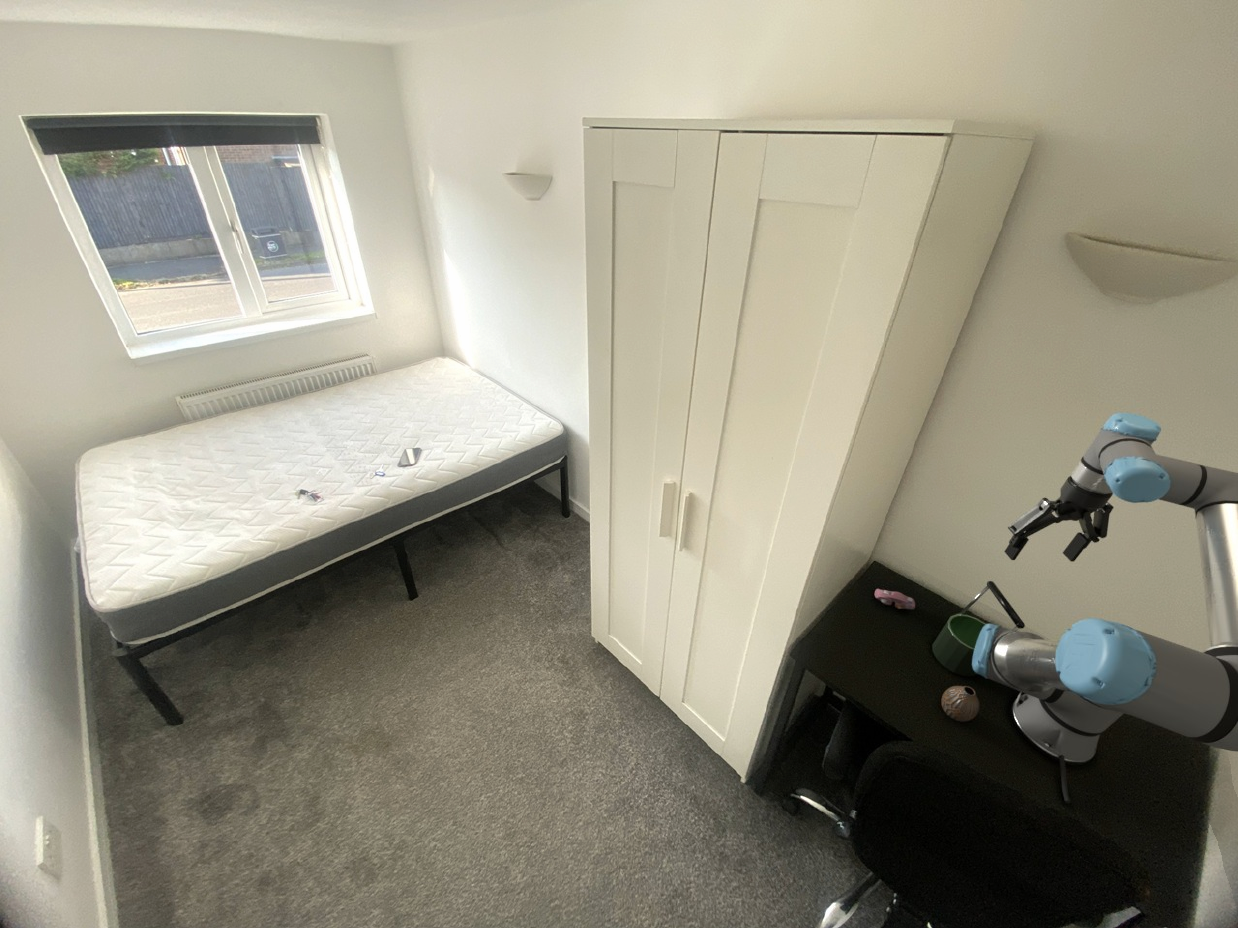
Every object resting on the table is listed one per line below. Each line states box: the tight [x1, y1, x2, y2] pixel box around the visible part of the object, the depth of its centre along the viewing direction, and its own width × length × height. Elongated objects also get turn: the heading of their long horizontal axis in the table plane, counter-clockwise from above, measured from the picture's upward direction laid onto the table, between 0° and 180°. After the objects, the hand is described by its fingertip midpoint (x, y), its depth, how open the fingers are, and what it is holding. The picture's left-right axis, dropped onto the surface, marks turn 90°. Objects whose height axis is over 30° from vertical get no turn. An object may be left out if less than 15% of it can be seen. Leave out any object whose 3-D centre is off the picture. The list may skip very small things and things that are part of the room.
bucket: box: [931, 580, 1026, 677], centre depth 123 cm, size 11×13×22 cm
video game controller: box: [874, 588, 916, 610], centre depth 141 cm, size 10×5×7 cm, turn 67°
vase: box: [940, 685, 980, 723], centre depth 115 cm, size 7×7×9 cm
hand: (1038, 556), depth 116 cm, fingers open, 13 cm apart
